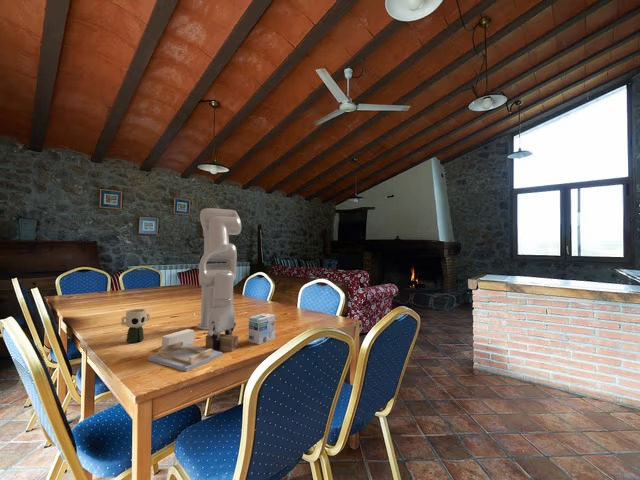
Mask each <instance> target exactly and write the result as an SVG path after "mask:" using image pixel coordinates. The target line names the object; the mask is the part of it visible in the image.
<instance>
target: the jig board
mask: <svg viewBox="0 0 640 480" xmlns="http://www.w3.org/2000/svg"><path fill="white" fill-rule="evenodd" d="M183 347H187V348H191V349H196V350H200V351H205V350H208V349H207V348H206V347H201V346H196V345H192V344H190V343H188V344H183ZM168 354H169V355H172V356H176V357H180V358H183V359H187V360H189V357H190V356H193V355H195V354H196V353H192V352H188V351H185V350H181V349H180V350H177V351H174V352H171V353H168ZM222 356H223V352H222V351H219V350H215V349H213V355H212V356H211V357H209V358H207V359H204V360H202V361H200V362H197V363H195V364H193V365H189V364H186V363H182V362H178V361H175V360H171V359H168V358H164V357H161V356H158V352H157V353H154V354H151V355H148V356H147V361H150V362H153V363H156V364H160V365H164V366H167V367H170V368H174V369H177V370H180V371H183V372H189V371H191V370H194V369H196V368H198V367H200V366H202V365H205V364H206V363H210V362H211V361H213V360H216V359H218V358H220V357H222Z"/></svg>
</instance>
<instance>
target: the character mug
mask: <svg viewBox="0 0 640 480" xmlns="http://www.w3.org/2000/svg"><path fill="white" fill-rule="evenodd" d="M150 315H151V314H150V312H147V310H146V309H145V308H137V309H136V308H135V309H133V308H132V309H128V310H126V313H125V316H123V317H121V321H120V323H121V326H124V325H125V326H126V327H127V328H128V330H127V334H126V339H125V340H126V342H128V343H137V342H142V341H144V339H145V337H144V328H143V326H144V325H145V324H146V322H147V321H150Z"/></svg>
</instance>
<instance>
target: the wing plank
mask: <svg viewBox="0 0 640 480" xmlns="http://www.w3.org/2000/svg"><path fill="white" fill-rule="evenodd" d="M178 342H183V344H190V343H194V342H195V330H193V329H190V328H186V329H183V330H180V331H175V332H172V333H169V334H166V335H162V337H161V348H163V347H166V346H169V345H172V344H175V343H178Z"/></svg>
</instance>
